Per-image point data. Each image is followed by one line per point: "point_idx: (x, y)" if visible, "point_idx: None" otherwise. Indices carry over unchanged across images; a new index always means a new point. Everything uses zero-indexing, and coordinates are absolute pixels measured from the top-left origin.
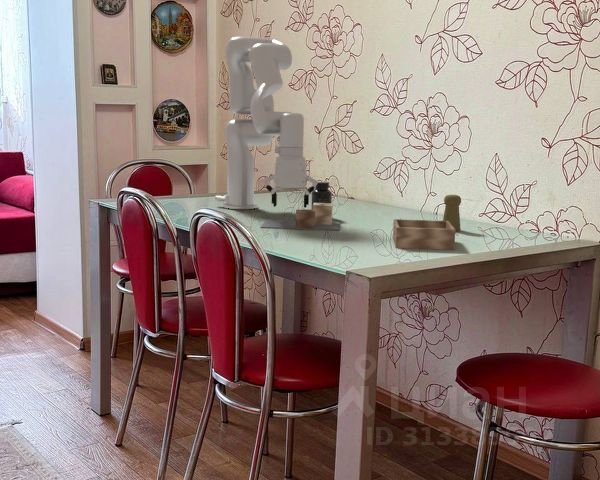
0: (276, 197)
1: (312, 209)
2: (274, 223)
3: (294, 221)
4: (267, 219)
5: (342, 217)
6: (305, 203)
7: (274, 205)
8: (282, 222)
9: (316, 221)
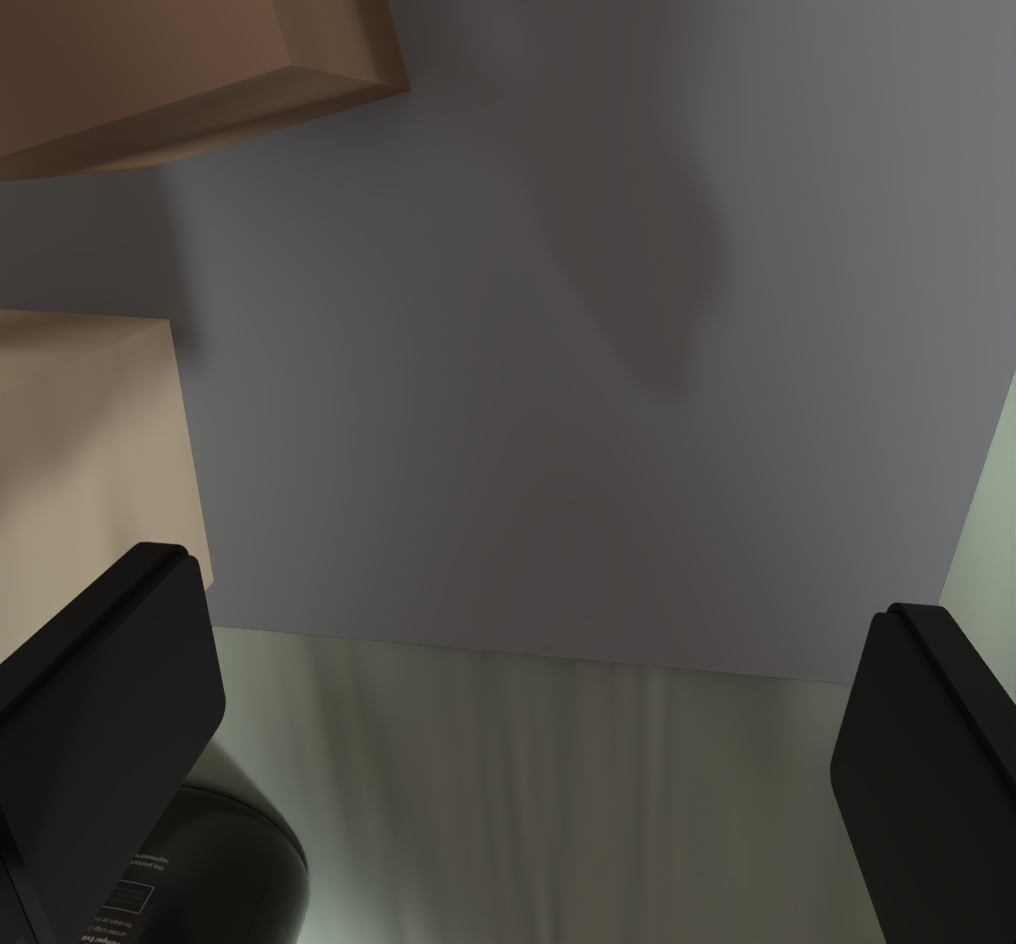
0: (915, 912)
1: (247, 936)
2: (817, 283)
3: (473, 536)
4: None
5: None
6: (98, 588)
7: (921, 612)
8: (662, 418)
9: (71, 325)
